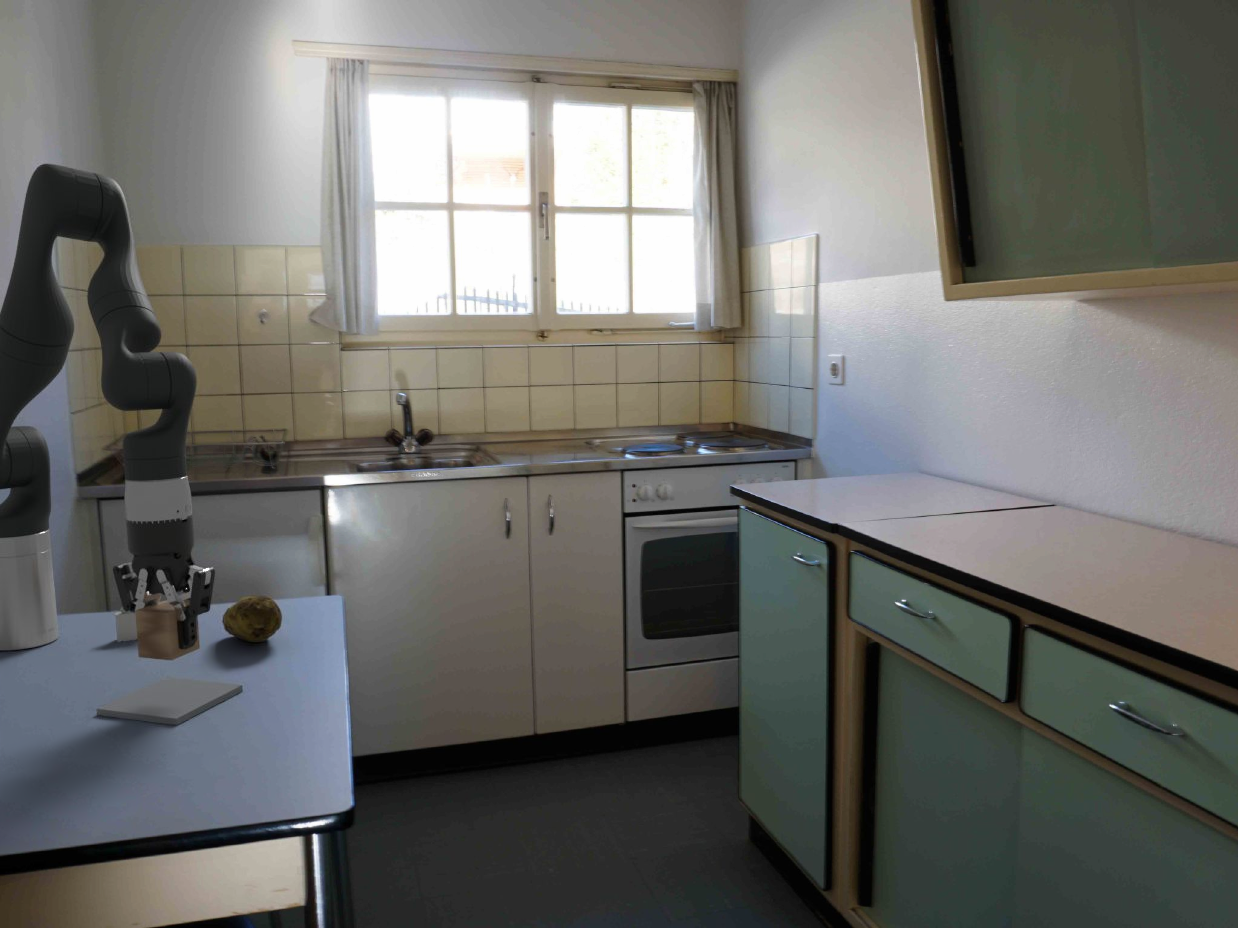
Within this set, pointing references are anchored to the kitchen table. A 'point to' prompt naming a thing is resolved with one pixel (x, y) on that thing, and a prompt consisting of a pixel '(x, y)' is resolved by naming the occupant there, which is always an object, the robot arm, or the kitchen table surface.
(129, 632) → the lighter
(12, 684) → the kitchen table surface
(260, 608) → the potato
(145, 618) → the block
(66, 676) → the kitchen table surface
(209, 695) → the coaster
